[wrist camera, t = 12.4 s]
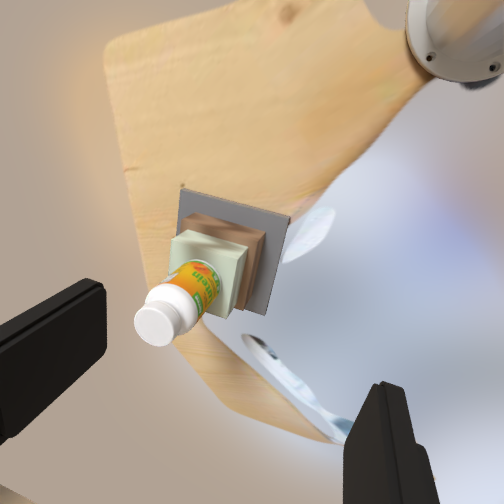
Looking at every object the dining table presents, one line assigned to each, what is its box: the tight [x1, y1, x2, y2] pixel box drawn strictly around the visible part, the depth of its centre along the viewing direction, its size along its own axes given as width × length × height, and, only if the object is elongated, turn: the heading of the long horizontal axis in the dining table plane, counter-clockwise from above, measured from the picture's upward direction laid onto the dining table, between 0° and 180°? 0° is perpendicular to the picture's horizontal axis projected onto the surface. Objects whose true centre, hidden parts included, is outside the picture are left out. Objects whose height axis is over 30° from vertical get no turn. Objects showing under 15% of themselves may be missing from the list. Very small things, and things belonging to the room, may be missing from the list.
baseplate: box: [176, 188, 290, 315], centre depth 43 cm, size 15×15×1 cm
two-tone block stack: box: [168, 212, 266, 319], centre depth 39 cm, size 10×10×8 cm
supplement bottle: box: [134, 259, 221, 347], centre depth 31 cm, size 5×5×10 cm
